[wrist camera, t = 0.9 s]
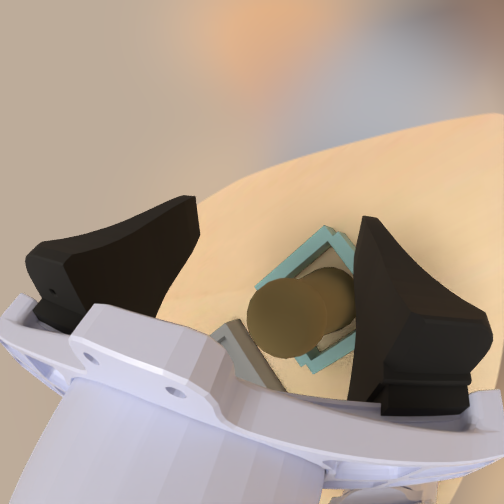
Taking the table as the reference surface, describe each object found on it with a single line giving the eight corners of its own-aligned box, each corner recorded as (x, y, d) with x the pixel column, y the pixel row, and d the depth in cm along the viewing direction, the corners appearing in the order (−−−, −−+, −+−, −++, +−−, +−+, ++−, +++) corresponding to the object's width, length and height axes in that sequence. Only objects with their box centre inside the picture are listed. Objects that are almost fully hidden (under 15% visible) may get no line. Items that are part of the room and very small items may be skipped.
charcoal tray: (317, 436, 26) (309, 448, 23) (239, 461, 31) (228, 470, 29) (239, 318, 31) (225, 322, 29) (178, 365, 36) (164, 370, 34)
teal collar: (401, 311, 22) (400, 316, 20) (317, 368, 26) (307, 377, 24) (337, 223, 26) (329, 220, 23) (263, 287, 30) (250, 290, 27)
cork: (294, 322, 28) (226, 353, 18) (304, 262, 27) (238, 264, 18) (352, 337, 24) (310, 384, 15) (365, 273, 24) (332, 283, 15)
